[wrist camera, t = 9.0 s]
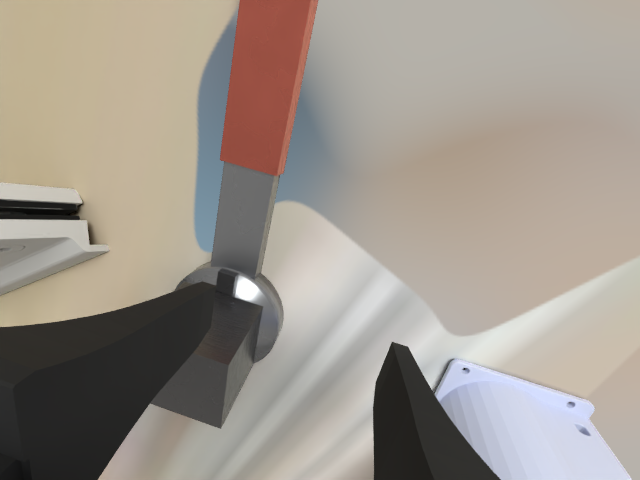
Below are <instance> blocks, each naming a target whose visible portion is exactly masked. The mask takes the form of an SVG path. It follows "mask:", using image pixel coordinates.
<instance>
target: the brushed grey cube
mask: <svg viewBox="0 0 640 480" xmlns="http://www.w3.org/2000/svg"><path fill="white" fill-rule="evenodd" d="M190 285H193V284H191V283H188V282H185V281H184V282H183V283H182V284H181V285H180V286H179V287H178V288H177V289H176V290H175V291H177V290H179V289H182V288H185V287H187V286H190ZM262 311H263V306H260V305H257V304H254V303H251V302H247V301H244V300H241V299H238V298H235V297H232V296H229V295H226V294H223V293H219V292H216V294H215V301H214V308H213V315H212V322H211V328H210V329H209V331H208V332H207V334H206V335H205V337H204V338H203V340H202V341H201V343H200V344H199V346H198V347H197V349H196V350H195V351H194V352H193V353H192V355H191V356H190V357H189V358H188V359H187V360H186V362H185V363H184V364H183V365H182V366H181V367H180V368H179V370H178V371H177V372H176V373H175V374H174V375H173V376H172V378H171V379H170V380H169V381H168V382H167V383H166V385H165V386H164V387H163V388H162V389H161V390H160V391H159V393H158V394H157V395H156V396H155V398H154V399H153V400H152V401H151V402H150V403H151V404H153V405H156V406H159V407H162V408H165V409H167V410H170V411H173V412H176V413H179V414H181V415H184V416H187V417H190V418H192V419H195V420H198V421H201V422H204V423H206V424H209V425H212V426H215V427H218V428H220V429H221V427H222V425H223V423H224V421H225V419H226V417H227V415H228V413H229V411H230V409H231V407H232V405H233V403H234V401H235V400H236V398H237V396H238V394H239V392H240V390H241V388H242V386H243V384H244V382H245V380H246V378H247V376H248V374H249V372H250V370H251V368H252V366H253V362H254V357H255V351H256V345H257V339H258V334H259V328H260V322H261V317H262Z"/></svg>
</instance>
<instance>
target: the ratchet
mask: <svg viewBox="0 0 640 480" xmlns="http://www.w3.org/2000/svg"><path fill="white" fill-rule="evenodd" d="M317 4H318V0H240V3H239V11H238V19H237V27H236V36H235V43H234V52H233V59H232V67H231V75H230V84H229V91H228V100H227V107H226V115H225V123H224V131H223V139H222V147H221V155H220V160H221V161H224V168H223V176H222V183H221V191H220V199H219V206H218V214H217V222H216V229H215V237H214V244H213V252H212V260H211V262H208V263H205V264H203V265H201V266H200V267H198V268H197V269H196V270H194V271H193V272H192V273H190V274H189V275H188V276H187V277H185V278H184V279H183V280H182V281H181V282H180V283H179V284H178V286H177V287H176V289H177V288H178V287H179V286H180V285H181V284H182V283H183V282H184V281H185V282H188V283H191V284H196V283H199V282H202V281H203V282H206V283H209V284H213V285H216V286H217V287H216V292H219V293H223V294H226V295H229V296H232V297H235V298H238V299H241V300H244V301H247V302H251V303H254V304H257V305H260V306H263V311H262V317H261V322H260V328H259V334H258V339H257V345H256V351H255V357H254V362H253V364H254V363H256V362H258V361H260V360H261V359H263V358H264V357H265V356H266V355H267V354H268V353H269V352H270V350H271V349H272V347H273V345H274V343H275V341H276V339H277V337H278V335H279V333H280V331H281V328H282V325H283V306H282V303H281V300H280V297H279V295H278V293H277V291H276V290H275V288H274V287H273V285H272V284H271V283H270V281H269V280H268V279H267V278H266V277H265V276H263V275H262V274H261V269H262V264H263V259H264V253H265V248H266V243H267V238H268V233H269V228H270V223H271V218H272V213H273V208H274V203H275V198H276V192H277V188H278V182H279V177H280V174H283V173H284V168H285V163H286V158H287V153H288V148H289V143H290V138H291V133H292V128H293V123H294V118H295V113H296V108H297V103H298V99H299V93H300V88H301V83H302V79H303V74H304V68H305V63H306V59H307V54H308V49H309V43H310V39H311V34H312V28H313V24H314V19H315V14H316V9H317ZM176 289H175V290H176Z"/></svg>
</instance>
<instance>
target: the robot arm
mask: <svg viewBox="0 0 640 480" xmlns="http://www.w3.org/2000/svg"><path fill="white" fill-rule="evenodd" d="M216 287H217V286H216V285H213V284H209V283H206V282H203V281H202V282H199V283H196V284H193V285H190V286H187V287H185V288H182V289H179V290H177V291H174V292H171V293H169V294H166V295H163V296H160V297H158V298H155V299H152V300H149V301H145V302H142V303H139V304H136V305H133V306H130V307H126V308H123V309H119V310H115V311H111V312H107V313H103V314H98V315H94V316H88V317H83V318H77V319H71V320H66V321H59V322H52V323H44V324H35V325H25V326H14V327H0V480H98V478H99V477H100V475H101V474H102V472H103V471H104V469H105V468H106V466H107V465H108V463H109V461H110V460H111V458H112V457H113V455H114V454H115V452H116V451H117V449H118V448H119V447H120V445H121V444H122V442H123V441H124V439H125V438H126V436H127V435H128V433H129V432H130V430H131V429H132V428H133V426H134V425H135V423H136V422H137V421H138V419H139V418H140V416H141V415H142V414H143V412H144V411H145V409H146V408H147V407H148V405H149V404H150V402H151V401H152V400H153V399H154V398H155V396H156V395H157V394H158V393H159V391H160V390H161V389H162V388H163V387H164V386H165V385H166V383H167V382H168V381H169V380H170V379H171V378H172V376H173V375H174V374H175V373H176V372H177V371H178V370H179V368H180V367H181V366H182V365H183V364H184V363H185V362H186V360H187V359H188V358H189V357H190V356H191V355H192V353H193V352H194V351H195V350H196V349H197V347H198V346H199V344H200V343H201V341H202V340H203V338H204V337H205V335H206V334H207V332H208V331H209V329H210V328H211V322H212V315H213V308H214V301H215V294H216ZM463 368H468V369H467V370H462V369H463ZM568 402H570V403H568ZM594 410H595V409H594V406H593V405H592V403H591V402H590V401H588V400H585V399H582V398H579V397H576V396H573V395H570V394H566V393H563V392H560V391H557V390H554V389H551V388H548V387H544V386H541V385H538V384H535V383H532V382H529V381H526V380H522V379H519V378H516V377H513V376H510V375H507V374H504V373H500V372H497V371H494V370H491V369H488V368H485V367H482V366H478V365H475V364H472V363H469V362H466V361H463V360H459V359H455V360H452V361H451V362H450V364H449V366H448V368H447V370H446V372H445V374H444V376H443V378H442V380H441V382H440V384H439V386H438V388H437V390H436V392H435V394H434V393H433V391H432V390H431V388H430V386H429V385H428V383H427V381H426V379H425V378H424V376H423V374H422V372H421V370H420V369H419V367H418V365H417V363H416V361H415V359H414V357H413V356H412V354H411V352H410V350H409V348H408V347H407V346H403V345H400V344H397V343H394V342H392V343H391V346H390V348H389V351H388V353H387V356H386V358H385V361H384V363H383V366H382V368H381V371H380V373H379V376H378V378H377V381H376V386H375V395H374V405H373V430H374V480H632V479H631V477H630V476H629V474H628V473H627V472H626V470H625V469H624V467H623V466H622V465H621V463H620V462H619V460H618V459H617V458H616V456H615V455H614V453H613V452H612V451H611V449H610V448H609V446H608V445H607V443H606V442H605V441H604V439H603V438H602V436H601V435H600V434H599V432H598V431H597V430H596V428H595V427H594V425H593V424H592V422H591V421H590V419H589V417H590V416H591V415H592V413H593V412H594Z"/></svg>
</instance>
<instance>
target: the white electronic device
mask: <svg viewBox="0 0 640 480" xmlns="http://www.w3.org/2000/svg"><path fill="white" fill-rule="evenodd" d="M82 203H83V202H82V200H81V198H80V195H79V194H78V192H77V191H76V190H75V189H68V188H57V187H46V186H35V185H24V184H13V183H1V182H0V295H3V294H5V293H8V292H10V291H13V290H15V289H17V288H20V287H22V286H25V285H27V284H30V283H32V282H35V281H37V280H39V279H42V278H44V277H47V276H49V275H52V274H54V273H57V272H59V271H62V270H64V269H66V268H69V267H71V266H74V265H76V264H79V263H81V262H84V261H86V260H88V259H91V258H93V257H96V256H98V255H101V254H103V253H106V252H108V251H110V250H109V247H108V245H90V244H89V235H88V225H87V220H80V218H79V216H66V215H67V214H70V213H72V212H74V211H76V210H77V206H78V205H80V204H82Z"/></svg>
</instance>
